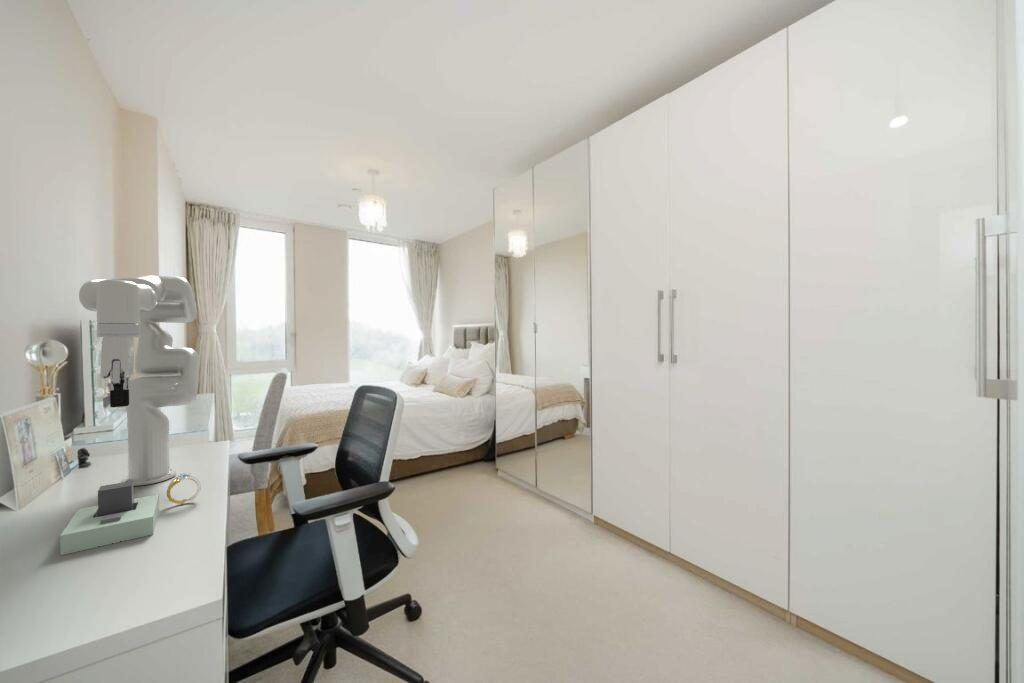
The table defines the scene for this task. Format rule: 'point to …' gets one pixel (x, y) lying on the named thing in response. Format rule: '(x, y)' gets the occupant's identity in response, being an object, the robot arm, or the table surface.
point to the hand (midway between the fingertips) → (119, 406)
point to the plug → (115, 498)
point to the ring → (177, 480)
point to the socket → (109, 526)
